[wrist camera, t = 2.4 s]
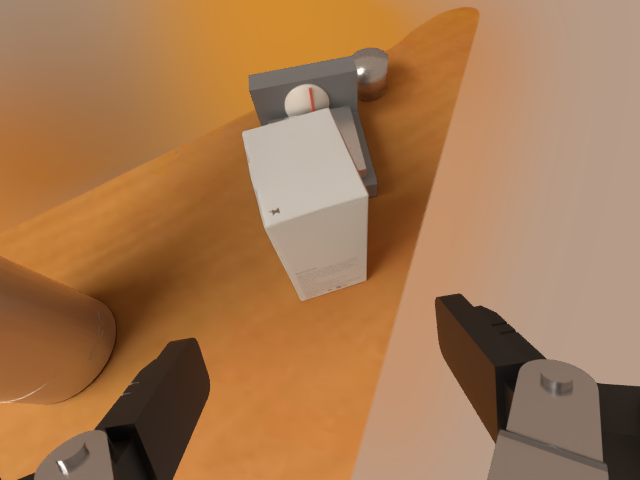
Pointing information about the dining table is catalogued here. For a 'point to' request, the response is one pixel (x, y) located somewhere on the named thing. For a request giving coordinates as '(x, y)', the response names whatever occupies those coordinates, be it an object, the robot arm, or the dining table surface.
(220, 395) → the dining table surface
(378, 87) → the cylinder
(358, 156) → the platter
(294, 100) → the scale base
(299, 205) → the small box
